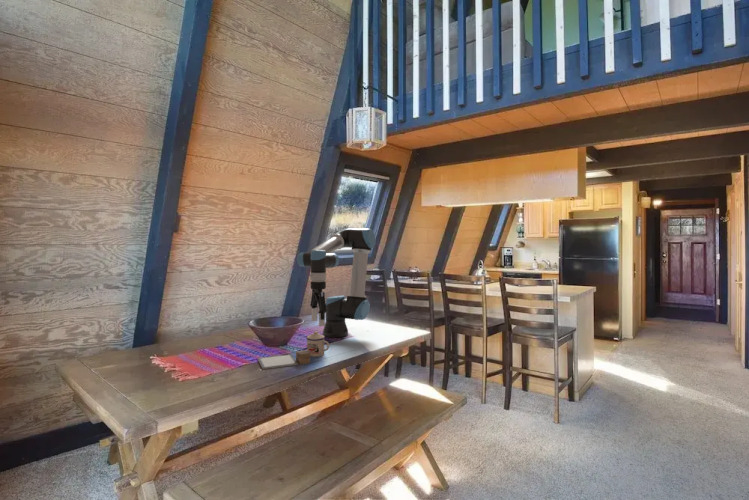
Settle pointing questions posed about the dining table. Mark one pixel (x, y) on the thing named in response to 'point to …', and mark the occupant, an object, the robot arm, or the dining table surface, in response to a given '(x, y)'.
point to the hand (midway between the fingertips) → (318, 323)
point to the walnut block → (303, 357)
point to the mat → (277, 361)
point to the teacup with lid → (316, 344)
